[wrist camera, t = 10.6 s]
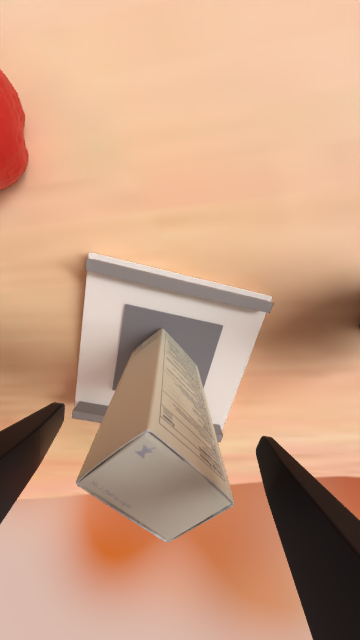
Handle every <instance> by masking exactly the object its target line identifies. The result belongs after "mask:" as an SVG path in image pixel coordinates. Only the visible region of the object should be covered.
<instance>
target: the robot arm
mask: <svg viewBox="0 0 360 640" xmlns="http://www.w3.org/2000/svg"><path fill="white" fill-rule="evenodd" d="M64 410H65V405H64V404H63V403H57V402H54V403H51V404H50V405H48V406H46V407H44V408H42V409H40V410H39V411H37V412H35V413H33V414H31V415H29V416H28V417H26V418H24V419H22V420H20V421H18V422H17V423H15V424H13V425H11V426H9V427H7V428H6V429H4V430H2V431H0V524H1V522H2V521H3V519H4V518H5V516H6V515H7V513H8V512H9V510H10V509H11V507H12V505H13V504H14V503H15V501H16V500H17V498H18V497H19V495H20V494H21V492H22V491H23V489H24V488H25V486H26V485H27V483H28V482H29V480H30V479H31V477H32V476H33V474H34V473H35V471H36V470H37V468H38V467H39V465H40V463H41V462H42V460H43V458H44V456H45V455H46V453H47V451H48V449H49V447H50V446H51V444H52V442H53V440H54V438H55V436H56V435H57V433H58V431H59V429H60V427H61V426H62V423H63V421H64ZM256 456H257V460H258V464H259V468H260V472H261V477H262V481H263V485H264V489H265V493H266V496H267V499H268V503H269V505H270V509H271V512H272V515H273V518H274V521H275V524H276V527H277V530H278V533H279V536H280V540H281V543H282V545H283V549H284V552H285V555H286V558H287V561H288V564H289V567H290V570H291V573H292V576H293V580H294V583H295V586H296V589H297V592H298V595H299V598H300V601H301V604H302V607H303V610H304V613H305V616H306V619H307V622H308V625H309V628H310V632H311V635H312V638H313V640H360V520H358V519H357V518H356V517H355V516H354V515H353V514H352V513H351V512H350V511H349V510H348V509H347V508H346V507H344V505H343V504H342V503H341V502H340V501H338V500H337V499H336V498H335V497H334V496H333V495H332V494H331V493H330V492H329V491H328V490H327V489H326V488H325V487H324V486H323V485H322V484H320V483H319V482H318V481H317V480H316V479H315V478H314V477H313V476H312V475H311V474H310V473H309V472H308V471H307V470H306V469H305V468H304V467H303V466H301V465H300V464H299V463H298V462H297V461H296V460H295V459H294V458H293V457H292V456H291V455H290V454H289V453H288V452H287V451H286V450H285V449H283V448H282V447H281V446H280V445H279V444H278V443H277V442H276V441H275V440H274V439H273V438H271V437H267V436H262V437H261V439H260V441H259V443H258V446H257V448H256Z"/></svg>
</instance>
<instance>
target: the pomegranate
mask: <svg viewBox="0 0 360 640" xmlns="http://www.w3.org/2000/svg"><path fill="white" fill-rule="evenodd" d="M24 123H25V114H24V111H23V109H22V106H21V103H20V100H19V97H18V94H17V92H16V90H15V89H14V87H13V86H12V84H11V83H10V81H9V80H8V78H7V77H6V76H5V74H4V73H3V72H2V71H1V70H0V190H1V189H4V188H6V187H8V186H10V185H11V184H13V183H15V182H16V181H17V180H18V179H19V178H20V176H22V174H23V173H24V171H25V169H26V166H27V162H28V151H27V149H26V146H25V140H24V135H23V129H24Z"/></svg>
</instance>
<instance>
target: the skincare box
mask: <svg viewBox="0 0 360 640" xmlns="http://www.w3.org/2000/svg"><path fill="white" fill-rule="evenodd" d="M76 484H77V485H78V486H79V487H81V488H83V489H84V490H85V491H87V492H88V493H90V494H91V495H93V496H94V497H96V498H97V499H99V500H100V501H102V502H103V503H105V504H107V505H109V506H110V507H111V508H113V509H114V510H116V511H117V512H119V513H120V514H122V515H124V516H125V517H127V518H128V519H130V520H131V521H133V522H135V523H136V524H138V525H139V526H141V527H143V528H144V529H146V530H148V531H149V532H150V533H152V534H154V535H155V536H157V537H158V538H160V539H162V540H163V541H165V542H170V541H172V540H174V539H176V538H178V537H179V536H181V535H182V534H184V533H186V532H188V531H190V530H192V529H194V528H195V527H197V526H199V525H201V524H202V523H204V522H206V521H208V520H210V519H211V518H213V517H215V516H216V515H218V514H220V513H222V512H224V511H226V510H227V509H229V508H231V507H232V506H233V505H234V499H233V496H232V492H231V489H230V485H229V481H228V477H227V474H226V470H225V466H224V462H223V459H222V455H221V451H220V448H219V444H218V441H217V437H216V433H215V429H214V426H213V422H212V418H211V415H210V411H209V407H208V404H207V400H206V396H205V392H204V389H203V385H202V381H201V378H200V374H199V370H198V367H197V365H196V364H195V363H194V362H193V361H192V359H191V358H190V357H189V356H188V355H187V354H186V353H185V351H184V350H183V349H182V348H181V347H180V346H179V345H178V344H177V343H176V341H175V340H174V339H173V338H172V337H171V336H170V335H169V334H168V333H167V332H166V331H165V330H164V329H163V328H161V329H160V330H158V331H157V332H156V333H154V334H153V335H152V336H151V337H149V338H148V339H147V340H146V341H144V342H143V343H142V344H141V345H140V346H138V347H137V348H136V349H135V350H134V351H133V352H132V354H131V356H130V359H129V361H128V363H127V365H126V368H125V370H124V372H123V374H122V377H121V379H120V381H119V383H118V386H117V388H116V390H115V393H114V395H113V397H112V399H111V402H110V404H109V406H108V409H107V411H106V413H105V416H104V418H103V420H102V422H101V425H100V427H99V430H98V432H97V434H96V436H95V439H94V441H93V443H92V446H91V448H90V450H89V453H88V455H87V457H86V460H85V462H84V464H83V467H82V469H81V471H80V473H79V476H78V478H77V481H76Z"/></svg>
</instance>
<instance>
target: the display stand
mask: <svg viewBox="0 0 360 640" xmlns="http://www.w3.org/2000/svg"><path fill="white" fill-rule="evenodd" d="M85 270H86V271H87V279H86V290H85V300H84V311H83V322H82V332H81V343H80V354H79V365H78V375H77V386H76V397H75V407H74V410H73V412H72V418H74V419H80V420H86V421H92V422H99V423H101V422H102V420H103V418H104V416H105V413H106V411H107V409H108V406H109V404H110V402H111V399H112V397H113V395H114V393H115V390H116V388H117V386H118V383H119V381H120V379H121V377H122V374H123V372H124V370H125V368H126V365H127V363H128V361H129V359H130V356H131V354H132V352H133V351H134V350H135V349H136V348H137V347H138V346H140V345H141V344H142V343H143V342H144V341H146V340H147V339H148V338H149V337H151V336H152V335H153V334H154V333H156V332H157V331H158V330H160V329H161V328H163V329H164V330H165V331H166V332H167V333H168V334H169V335H170V336H171V337H172V338H173V339H174V340H175V341H176V343H177V344H178V345H179V346H180V347H181V348H182V349H183V350H184V351H185V353H186V354H187V355H188V356H189V357H190V358H191V359H192V361H193V362H194V363H195V364H196V365H197V367H198V370H199V374H200V378H201V381H202V385H203V389H204V392H205V396H206V400H207V404H208V407H209V411H210V415H211V418H212V422H213V426H214V429H215V433H216V437H217V441H218V442H221V440H222V437H223V434H222V429H223V426H224V424H225V421H226V418H227V416H228V413H229V410H230V408H231V405H232V402H233V400H234V397H235V394H236V392H237V389H238V387H239V384H240V381H241V379H242V376H243V373H244V371H245V368H246V365H247V363H248V360H249V357H250V355H251V352H252V349H253V347H254V344H255V341H256V339H257V336H258V333H259V331H260V328H261V325H262V323H263V320H264V318H265V315H266V313H270V311H271V309H272V306H273V304H274V303H272V302H271V299H272V296H269V295H266V294H262V293H258V292H254V291H250V290H245V289H241V288H237V287H233V286H229V285H225V284H221V283H217V282H212V281H208V280H204V279H200V278H196V277H192V276H188V275H184V274H180V273H175V272H171V271H167V270H163V269H159V268H155V267H151V266H147V265H142V264H138V263H134V262H130V261H126V260H122V259H118V258H114V257H110V256H105V255H101V254H97V253H92V252H89V258H86V269H85Z"/></svg>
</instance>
